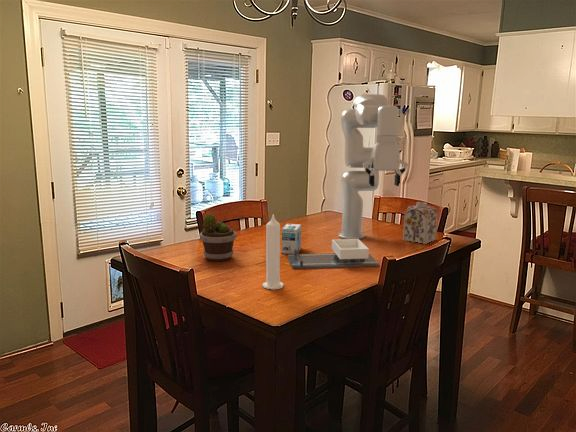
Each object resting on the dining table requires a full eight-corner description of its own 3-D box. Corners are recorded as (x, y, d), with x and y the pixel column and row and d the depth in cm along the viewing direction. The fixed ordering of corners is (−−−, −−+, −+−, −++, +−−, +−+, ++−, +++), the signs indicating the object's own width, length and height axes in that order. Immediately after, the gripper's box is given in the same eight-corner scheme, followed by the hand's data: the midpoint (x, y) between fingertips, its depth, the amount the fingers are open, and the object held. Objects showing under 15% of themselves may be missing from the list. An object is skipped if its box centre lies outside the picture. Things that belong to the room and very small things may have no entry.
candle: (283, 282, 168) (283, 212, 163) (283, 289, 161) (284, 216, 156) (262, 282, 167) (262, 212, 162) (262, 289, 161) (262, 216, 155)
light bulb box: (297, 254, 202) (297, 229, 199) (281, 253, 203) (281, 228, 201) (301, 248, 212) (301, 224, 210) (286, 247, 213) (286, 223, 211)
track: (287, 256, 198) (287, 249, 198) (367, 254, 202) (368, 247, 202) (292, 268, 183) (292, 261, 182) (379, 266, 187) (379, 258, 186)
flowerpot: (231, 251, 205) (230, 205, 201) (240, 261, 191) (240, 212, 187) (197, 254, 200) (195, 207, 196) (204, 265, 186) (203, 214, 182)
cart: (331, 252, 200) (331, 239, 199) (357, 251, 201) (358, 238, 200) (339, 263, 185) (340, 249, 184) (368, 262, 186) (368, 248, 185)
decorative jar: (413, 236, 235) (415, 199, 231) (436, 240, 227) (439, 202, 224) (401, 240, 226) (404, 202, 222) (425, 245, 218) (428, 206, 215)
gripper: (405, 139, 184) (402, 184, 187) (361, 139, 182) (359, 184, 185) (412, 140, 176) (409, 187, 180) (366, 140, 174) (364, 187, 178)
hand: (384, 185), depth 183 cm, fingers open, 9 cm apart
